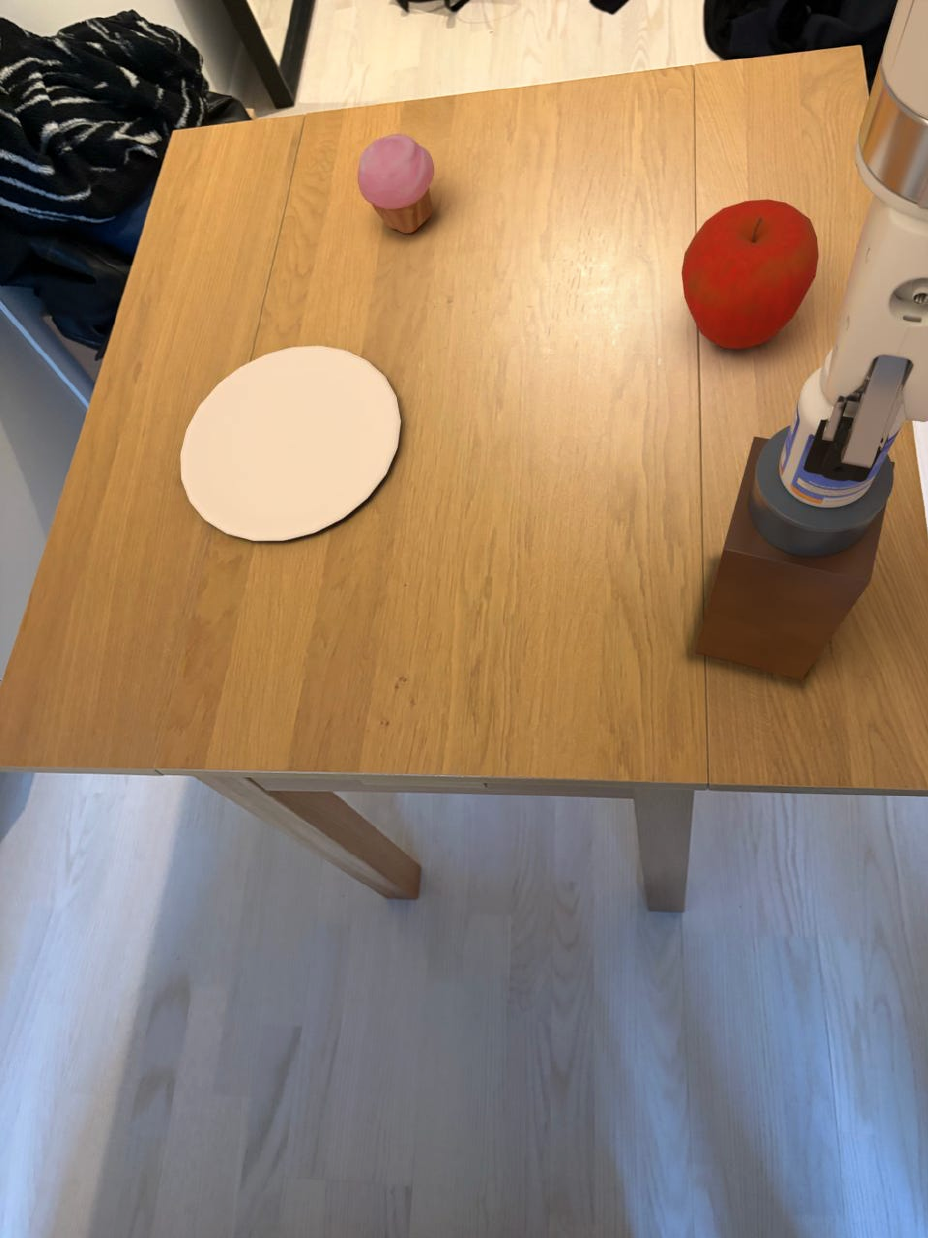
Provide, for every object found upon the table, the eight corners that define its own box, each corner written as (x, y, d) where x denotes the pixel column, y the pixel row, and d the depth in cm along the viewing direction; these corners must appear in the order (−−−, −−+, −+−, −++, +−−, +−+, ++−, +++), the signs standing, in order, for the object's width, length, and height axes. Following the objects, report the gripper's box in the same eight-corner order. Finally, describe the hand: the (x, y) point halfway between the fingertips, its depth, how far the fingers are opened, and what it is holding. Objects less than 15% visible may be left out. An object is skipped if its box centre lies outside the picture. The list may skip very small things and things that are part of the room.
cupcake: (457, 206, 96) (441, 128, 86) (417, 257, 94) (396, 183, 84) (399, 186, 99) (377, 109, 90) (359, 235, 97) (332, 161, 88)
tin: (884, 467, 52) (904, 431, 48) (862, 571, 49) (881, 541, 46) (761, 444, 54) (771, 408, 50) (734, 543, 52) (743, 512, 48)
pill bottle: (891, 488, 47) (954, 381, 38) (806, 524, 47) (851, 427, 38) (839, 421, 49) (888, 305, 40) (759, 456, 49) (791, 348, 40)
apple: (745, 266, 85) (768, 145, 72) (825, 333, 80) (865, 216, 67) (651, 327, 84) (658, 215, 71) (726, 398, 79) (748, 292, 66)
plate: (369, 321, 91) (366, 313, 90) (431, 494, 81) (428, 488, 80) (168, 398, 92) (163, 391, 91) (204, 579, 82) (198, 574, 81)
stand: (822, 587, 70) (895, 461, 52) (801, 680, 67) (870, 582, 49) (719, 563, 73) (754, 435, 54) (694, 652, 70) (723, 549, 52)
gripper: (1082, 321, 24) (890, 577, 40) (1129, -45, 29) (942, 315, 45) (818, 287, 26) (739, 544, 42) (906, -48, 31) (805, 297, 47)
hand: (845, 423), depth 44 cm, fingers closed on pill bottle, 5 cm apart
